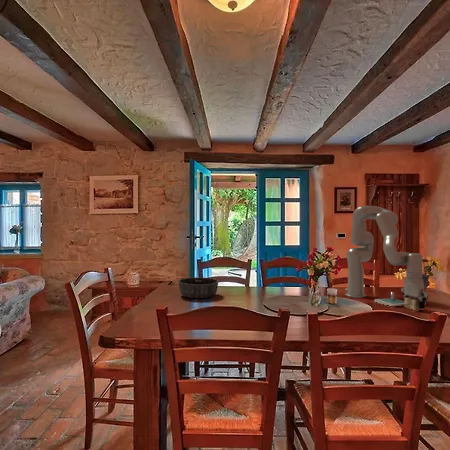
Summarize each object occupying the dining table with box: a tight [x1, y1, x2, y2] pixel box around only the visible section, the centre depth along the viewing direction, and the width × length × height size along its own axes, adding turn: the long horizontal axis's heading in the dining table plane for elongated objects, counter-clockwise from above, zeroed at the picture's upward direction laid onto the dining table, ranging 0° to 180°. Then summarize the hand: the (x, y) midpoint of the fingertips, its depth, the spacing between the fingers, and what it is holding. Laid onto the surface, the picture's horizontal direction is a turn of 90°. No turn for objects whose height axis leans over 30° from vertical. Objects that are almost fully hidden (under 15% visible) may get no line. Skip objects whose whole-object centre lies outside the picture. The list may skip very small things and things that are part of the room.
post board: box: [374, 297, 404, 307], centre depth 198 cm, size 14×14×2 cm
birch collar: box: [404, 296, 420, 310], centre depth 185 cm, size 6×6×6 cm
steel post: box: [390, 291, 396, 301], centre depth 198 cm, size 2×2×5 cm
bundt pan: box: [177, 276, 220, 299], centre depth 216 cm, size 26×26×10 cm
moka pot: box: [410, 273, 430, 304], centre depth 200 cm, size 10×15×20 cm, turn 15°
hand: (414, 306), depth 185 cm, fingers open, 9 cm apart
